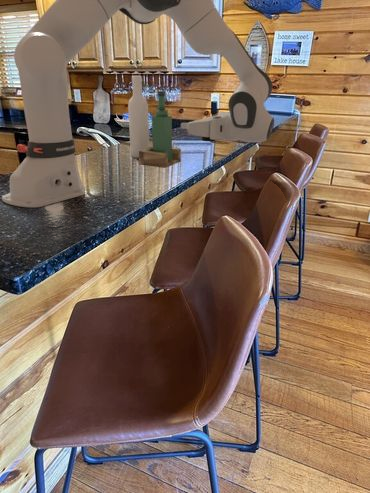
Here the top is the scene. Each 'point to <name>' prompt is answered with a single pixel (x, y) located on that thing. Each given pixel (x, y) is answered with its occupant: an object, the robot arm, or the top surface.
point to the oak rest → (159, 157)
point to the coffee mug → (207, 139)
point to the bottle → (138, 119)
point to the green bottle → (162, 128)
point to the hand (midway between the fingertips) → (187, 123)
